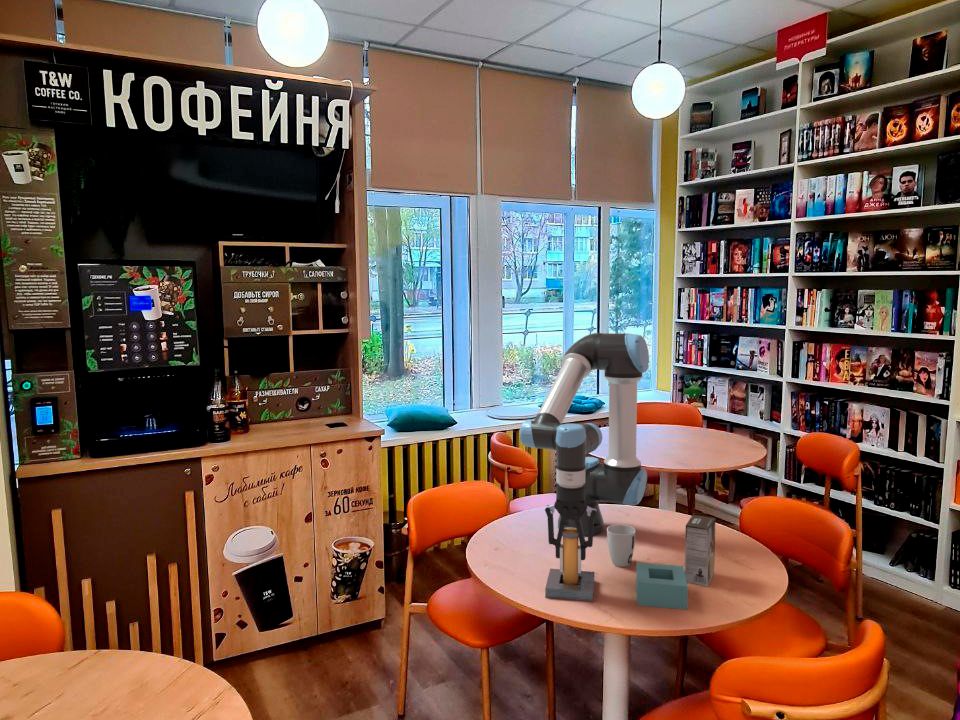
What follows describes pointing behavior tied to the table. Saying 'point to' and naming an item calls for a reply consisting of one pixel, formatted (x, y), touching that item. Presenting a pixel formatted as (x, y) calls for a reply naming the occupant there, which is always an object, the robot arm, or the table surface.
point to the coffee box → (700, 550)
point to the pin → (570, 556)
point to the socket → (661, 586)
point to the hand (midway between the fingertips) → (570, 570)
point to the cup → (621, 544)
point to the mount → (570, 586)
